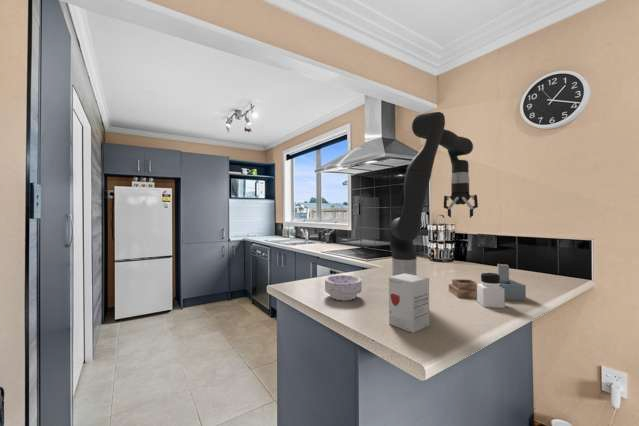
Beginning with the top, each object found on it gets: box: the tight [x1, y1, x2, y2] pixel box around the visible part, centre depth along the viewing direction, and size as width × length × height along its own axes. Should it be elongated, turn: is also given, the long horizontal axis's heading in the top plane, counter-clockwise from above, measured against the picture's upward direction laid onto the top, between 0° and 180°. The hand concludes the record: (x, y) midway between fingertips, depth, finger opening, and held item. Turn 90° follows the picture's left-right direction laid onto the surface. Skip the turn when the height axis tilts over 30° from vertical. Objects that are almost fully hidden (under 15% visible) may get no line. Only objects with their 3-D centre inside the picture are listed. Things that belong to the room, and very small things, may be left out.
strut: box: [496, 263, 510, 284], centre depth 117 cm, size 5×5×12 cm
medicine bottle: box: [476, 271, 506, 309], centre depth 105 cm, size 7×7×12 cm
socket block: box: [448, 278, 479, 299], centre depth 120 cm, size 10×10×6 cm
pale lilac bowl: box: [324, 274, 363, 302], centre depth 115 cm, size 15×15×8 cm
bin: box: [499, 278, 527, 301], centre depth 117 cm, size 11×11×6 cm
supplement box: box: [388, 273, 430, 334], centre depth 86 cm, size 9×9×15 cm
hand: (460, 217), depth 130 cm, fingers open, 8 cm apart
